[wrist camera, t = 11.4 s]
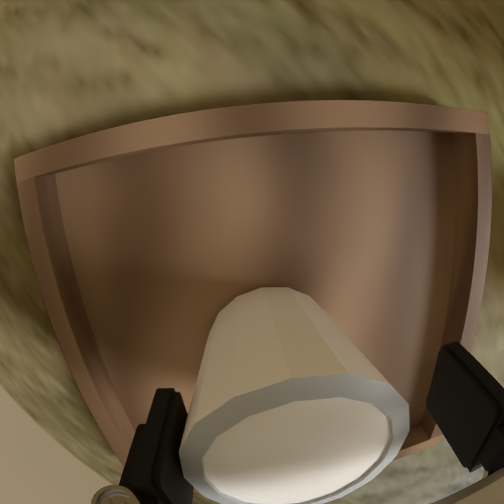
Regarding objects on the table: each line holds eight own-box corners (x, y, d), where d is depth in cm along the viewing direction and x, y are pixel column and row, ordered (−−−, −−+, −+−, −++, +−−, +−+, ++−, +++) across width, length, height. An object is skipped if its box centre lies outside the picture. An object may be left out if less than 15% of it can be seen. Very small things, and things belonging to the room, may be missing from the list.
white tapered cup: (167, 359, 14) (139, 480, 7) (253, 240, 13) (284, 326, 6) (282, 414, 15) (307, 523, 9) (370, 320, 14) (448, 416, 8)
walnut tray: (455, 115, 12) (487, 112, 10) (423, 421, 18) (438, 443, 16) (44, 156, 12) (13, 158, 10) (145, 462, 18) (139, 489, 15)
